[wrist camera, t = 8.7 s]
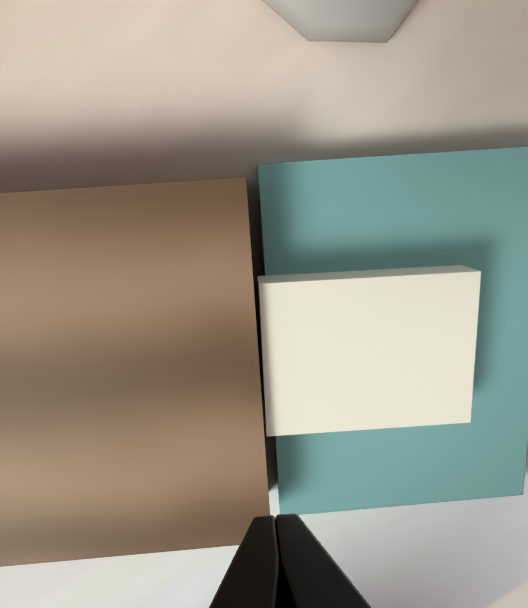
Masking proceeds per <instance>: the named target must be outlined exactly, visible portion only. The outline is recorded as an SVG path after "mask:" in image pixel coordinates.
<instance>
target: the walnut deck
mask: <svg viewBox="0 0 528 608" xmlns="http://www.w3.org/2000/svg"><path fill="white" fill-rule="evenodd" d="M268 515H270V509H269V494H268V480H267V466H266V452H265V438H264V424H263V410H262V396H261V382H260V368H259V354H258V340H257V326H256V312H255V298H254V283H253V269H252V255H251V241H250V227H249V213H248V199H247V185H246V177H239V178H224V179H208V180H193V181H178V182H162V183H147V184H131V185H116V186H101V187H85V188H70V189H54V190H39V191H24V192H8V193H0V567H2V566H13V565H24V564H35V563H46V562H57V561H68V560H79V559H90V558H101V557H112V556H123V555H134V554H145V553H156V552H167V551H178V550H189V549H199V548H210V547H221V546H232V545H240V544H241V542H242V540H243V538H244V536H245V534H246V532H247V530H248V527H249V525H250V523H251V521H252V520H253V518H254V517H257V516H268Z"/></svg>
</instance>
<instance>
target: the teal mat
mask: <svg viewBox="0 0 528 608" xmlns="http://www.w3.org/2000/svg"><path fill="white" fill-rule="evenodd" d="M257 170H258V186H259V201H260V217H261V232H262V247H263V263H264V276H270V275H288V274H306V273H324V272H342V271H360V270H378V269H396V268H414V267H432V266H450V265H463V266H466V267H469V268H472V269H476V270H479V271H481V280H480V294H479V309H478V323H477V337H476V351H475V365H474V379H473V393H472V408H471V422H470V423H457V424H442V425H427V426H413V427H398V428H384V429H369V430H354V431H340V432H325V433H311V434H296V435H281V436H275V448H276V463H277V479H278V494H279V506H280V514H290V513H295V514H297V515H302V514H313V513H324V512H335V511H346V510H357V509H369V508H380V507H391V506H402V505H413V504H425V503H436V502H447V501H458V500H469V499H480V498H492V497H503V496H514V495H523V489H524V478H525V466H526V455H527V444H528V147H514V148H498V149H483V150H467V151H452V152H436V153H420V154H405V155H389V156H373V157H358V158H342V159H327V160H311V161H295V162H280V163H264V164H258V165H257Z"/></svg>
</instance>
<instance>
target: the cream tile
mask: <svg viewBox="0 0 528 608" xmlns="http://www.w3.org/2000/svg"><path fill="white" fill-rule="evenodd" d="M257 279H258V298H259V317H260V337H261V356H262V375H263V395H264V414H265V425H266V435H267V436H281V435H296V434H311V433H325V432H340V431H354V430H369V429H384V428H398V427H413V426H427V425H442V424H457V423H470V422H471V408H472V393H473V379H474V365H475V351H476V337H477V323H478V309H479V294H480V280H481V271H479V270H476V269H472V268H469V267H466V266H463V265H450V266H432V267H414V268H396V269H378V270H360V271H342V272H324V273H306V274H288V275H270V276H257Z"/></svg>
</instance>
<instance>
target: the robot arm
mask: <svg viewBox="0 0 528 608" xmlns="http://www.w3.org/2000/svg"><path fill="white" fill-rule="evenodd" d="M209 608H371V606H370V605H369V604H368V603H367V601H366V600H365V599H364V598H363V596H362V595H361V594H360V593H359V591H358V590H357V589H356V587H355V586H354V585H353V584H352V582H351V581H350V580H349V579H348V577H347V576H346V575H345V574H344V572H343V571H342V570H341V569H340V567H339V566H338V565H337V564H336V562H335V561H334V560H333V559H332V557H331V556H330V555H329V554H328V552H327V551H326V550H325V549H324V547H323V546H322V545H321V543H320V542H319V541H318V540H317V538H316V537H315V536H314V535H313V533H312V532H311V531H310V530H309V528H308V527H307V526H306V525H305V523H304V522H303V521H302V520H301V518H300V517H299V516H298V515H297V514H295V513H290V514H279V515H277V516H276V521H275V517H274V516H273V515H268V516H257V517H254V518H253V520H252V521H251V523H250V525H249V527H248V530H247V532H246V534H245V536H244V538H243V540H242V542H241V544H240V546H239V548H238V550H237V552H236V554H235V556H234V558H233V560H232V562H231V564H230V566H229V568H228V570H227V572H226V574H225V576H224V578H223V580H222V582H221V584H220V586H219V588H218V590H217V592H216V594H215V597H214V599H213V601H212V603H211V605H210V607H209Z"/></svg>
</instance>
